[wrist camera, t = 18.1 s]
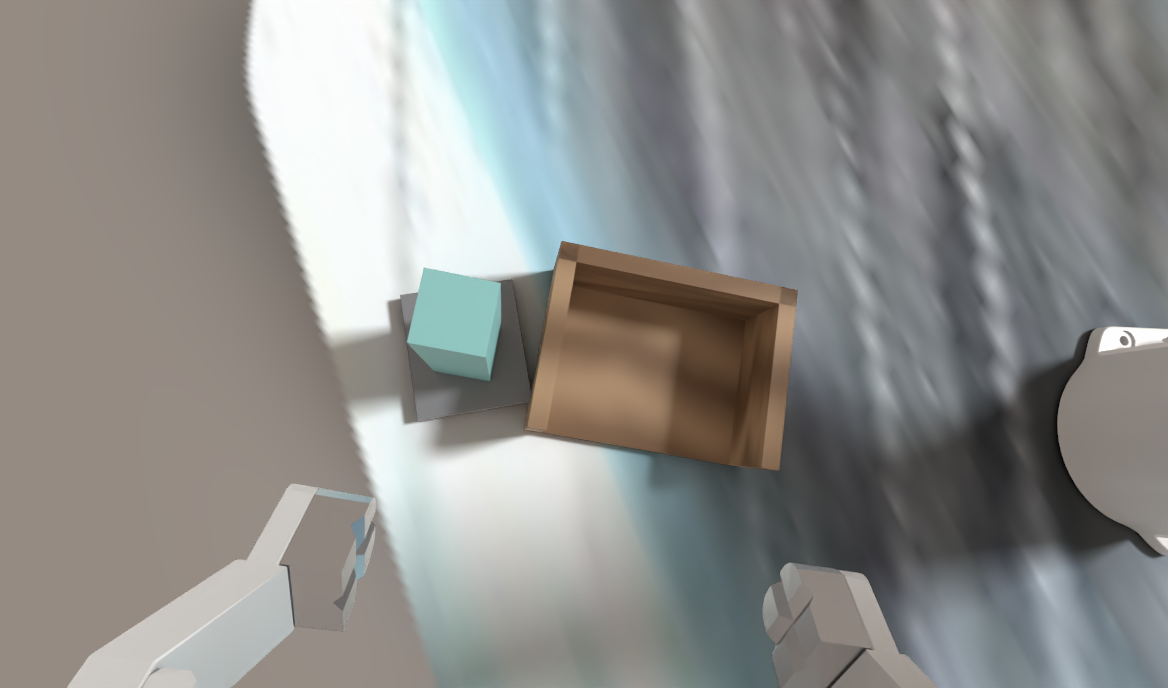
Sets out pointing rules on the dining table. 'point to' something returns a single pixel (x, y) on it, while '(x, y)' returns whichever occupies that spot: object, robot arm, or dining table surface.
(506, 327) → the coaster
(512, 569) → the dining table surface
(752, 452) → the crate
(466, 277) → the block
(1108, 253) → the dining table surface
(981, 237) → the dining table surface
